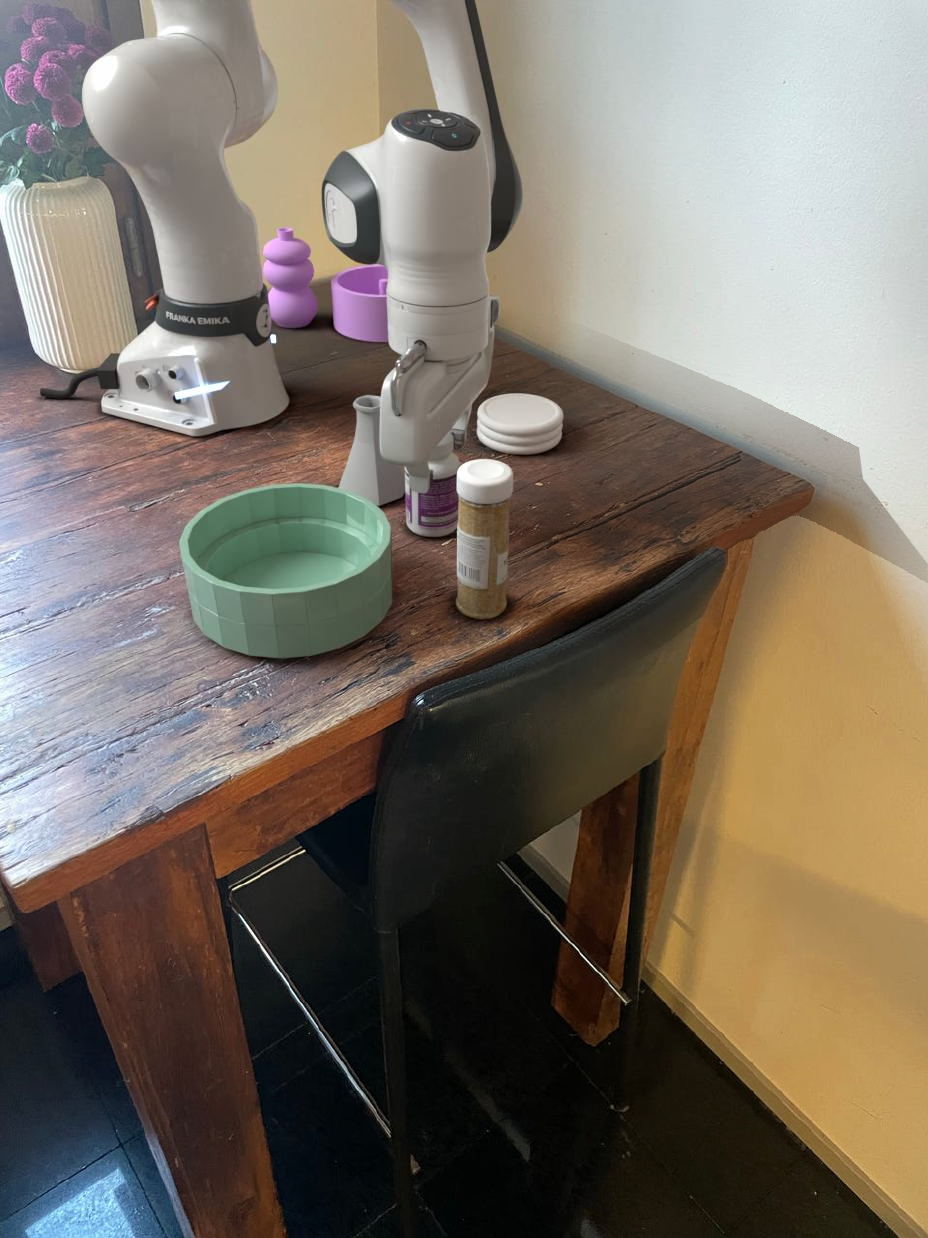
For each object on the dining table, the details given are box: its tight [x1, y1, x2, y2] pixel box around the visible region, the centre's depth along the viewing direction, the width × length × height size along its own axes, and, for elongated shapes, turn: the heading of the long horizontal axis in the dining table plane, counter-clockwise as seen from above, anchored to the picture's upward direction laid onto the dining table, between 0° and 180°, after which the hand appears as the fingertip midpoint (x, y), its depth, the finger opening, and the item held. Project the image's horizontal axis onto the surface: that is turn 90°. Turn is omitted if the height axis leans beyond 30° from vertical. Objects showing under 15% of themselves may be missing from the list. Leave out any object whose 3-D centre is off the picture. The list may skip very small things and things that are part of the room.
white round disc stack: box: [476, 392, 564, 456], centre depth 109 cm, size 10×10×4 cm
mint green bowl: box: [178, 482, 394, 659], centre depth 81 cm, size 17×18×7 cm
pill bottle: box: [404, 432, 461, 538], centre depth 91 cm, size 5×5×10 cm
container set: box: [262, 227, 388, 343], centre depth 135 cm, size 25×15×13 cm, turn 91°
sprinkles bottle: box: [455, 458, 514, 620], centre depth 79 cm, size 5×5×13 cm
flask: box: [338, 394, 405, 507], centre depth 96 cm, size 7×7×10 cm
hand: (439, 466), depth 90 cm, fingers open, 8 cm apart
